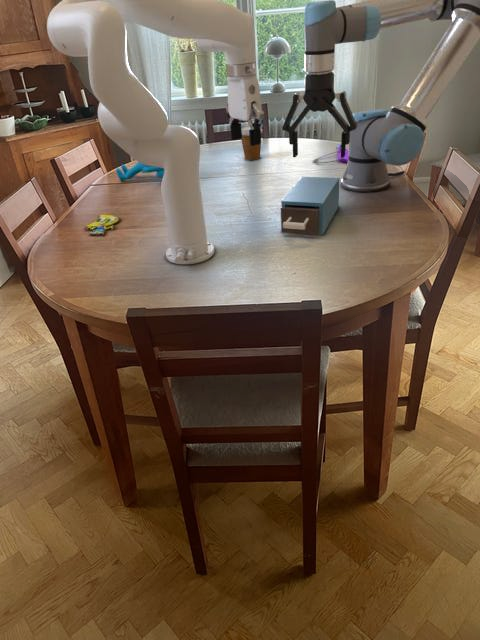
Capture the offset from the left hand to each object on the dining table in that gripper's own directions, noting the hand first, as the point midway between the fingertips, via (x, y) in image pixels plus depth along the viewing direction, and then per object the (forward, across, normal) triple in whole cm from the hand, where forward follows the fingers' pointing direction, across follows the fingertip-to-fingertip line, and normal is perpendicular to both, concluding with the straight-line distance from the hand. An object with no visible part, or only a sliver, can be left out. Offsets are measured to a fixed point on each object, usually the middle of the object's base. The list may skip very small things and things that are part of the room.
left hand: (245, 141), depth 130 cm
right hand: (+6, -8, -19) cm, 22 cm away
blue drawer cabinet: (+22, -12, -13) cm, 28 cm away
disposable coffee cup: (+22, +58, -37) cm, 72 cm away
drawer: (+21, -16, -8) cm, 28 cm away
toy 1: (+22, +27, +37) cm, 51 cm away
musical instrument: (+22, +34, -60) cm, 73 cm away
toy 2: (+22, +61, +5) cm, 65 cm away
